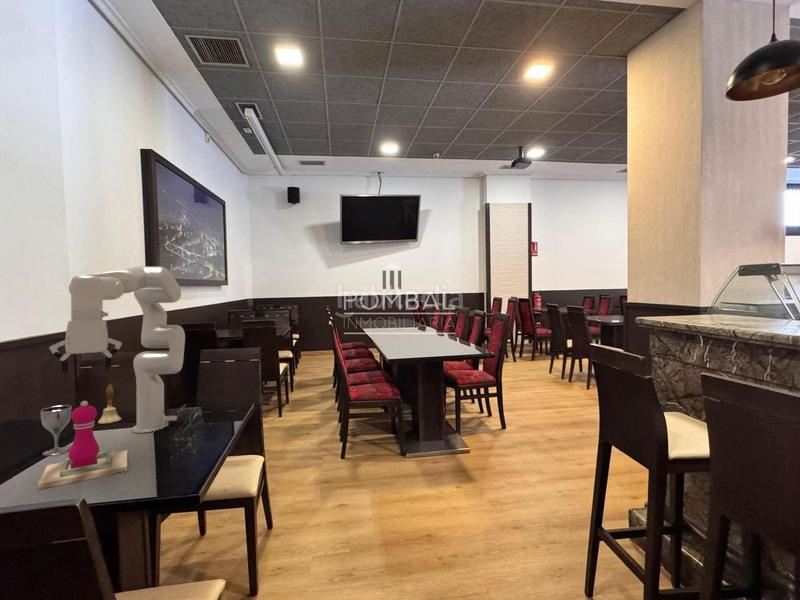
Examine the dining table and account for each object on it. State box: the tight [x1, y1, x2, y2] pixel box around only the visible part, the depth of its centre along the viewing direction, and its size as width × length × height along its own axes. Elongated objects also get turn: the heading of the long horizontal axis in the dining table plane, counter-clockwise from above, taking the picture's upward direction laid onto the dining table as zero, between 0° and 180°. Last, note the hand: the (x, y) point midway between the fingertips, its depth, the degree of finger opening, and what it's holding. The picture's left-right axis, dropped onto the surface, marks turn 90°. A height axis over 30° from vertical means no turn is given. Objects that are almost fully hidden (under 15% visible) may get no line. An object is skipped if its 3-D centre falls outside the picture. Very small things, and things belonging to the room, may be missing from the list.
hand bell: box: [97, 384, 122, 425], centre depth 170 cm, size 8×8×16 cm
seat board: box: [37, 450, 128, 491], centre depth 118 cm, size 20×16×3 cm
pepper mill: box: [68, 400, 100, 469], centre depth 117 cm, size 7×7×20 cm
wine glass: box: [40, 404, 72, 456], centre depth 134 cm, size 8×8×15 cm
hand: (87, 371), depth 118 cm, fingers open, 9 cm apart
